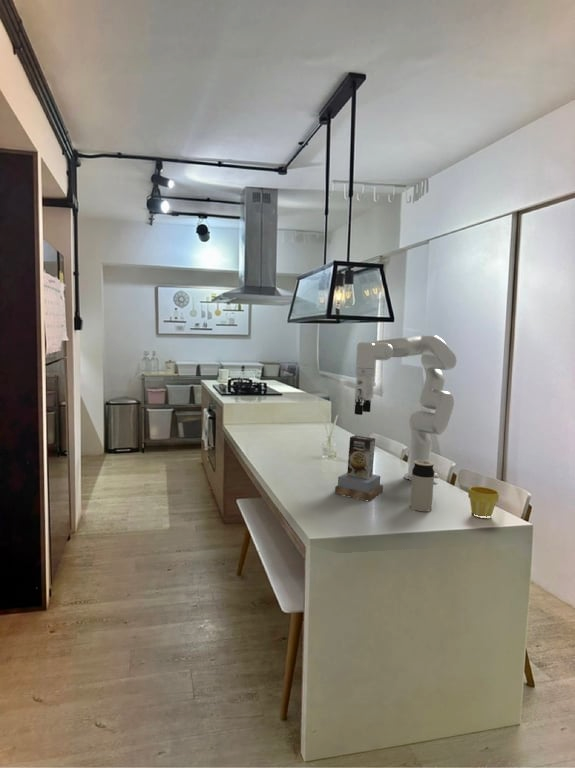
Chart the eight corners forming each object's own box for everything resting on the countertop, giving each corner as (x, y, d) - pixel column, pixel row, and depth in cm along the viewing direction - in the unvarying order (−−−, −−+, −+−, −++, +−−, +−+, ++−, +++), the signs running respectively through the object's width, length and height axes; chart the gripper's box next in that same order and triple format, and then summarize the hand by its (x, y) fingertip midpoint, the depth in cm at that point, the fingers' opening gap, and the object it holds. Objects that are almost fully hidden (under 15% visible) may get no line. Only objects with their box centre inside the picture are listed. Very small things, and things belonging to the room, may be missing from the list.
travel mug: (416, 512, 184) (420, 465, 182) (405, 505, 192) (409, 459, 190) (435, 511, 186) (439, 464, 185) (424, 504, 194) (427, 459, 192)
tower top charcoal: (379, 485, 206) (380, 475, 206) (367, 492, 195) (368, 482, 195) (351, 479, 213) (351, 470, 213) (337, 486, 202) (338, 476, 202)
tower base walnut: (382, 494, 208) (383, 484, 207) (369, 503, 195) (370, 493, 194) (349, 487, 215) (349, 478, 215) (334, 496, 202) (335, 486, 202)
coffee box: (346, 475, 203) (349, 437, 202) (352, 472, 209) (354, 434, 208) (367, 479, 199) (370, 440, 197) (373, 476, 204) (375, 437, 203)
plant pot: (489, 511, 189) (491, 486, 188) (501, 521, 179) (504, 495, 178) (462, 510, 189) (464, 485, 188) (473, 520, 179) (475, 493, 178)
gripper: (366, 373, 196) (364, 416, 198) (379, 371, 212) (377, 411, 213) (348, 372, 200) (346, 414, 202) (363, 370, 215) (361, 409, 217)
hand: (362, 413), depth 207 cm, fingers open, 9 cm apart
